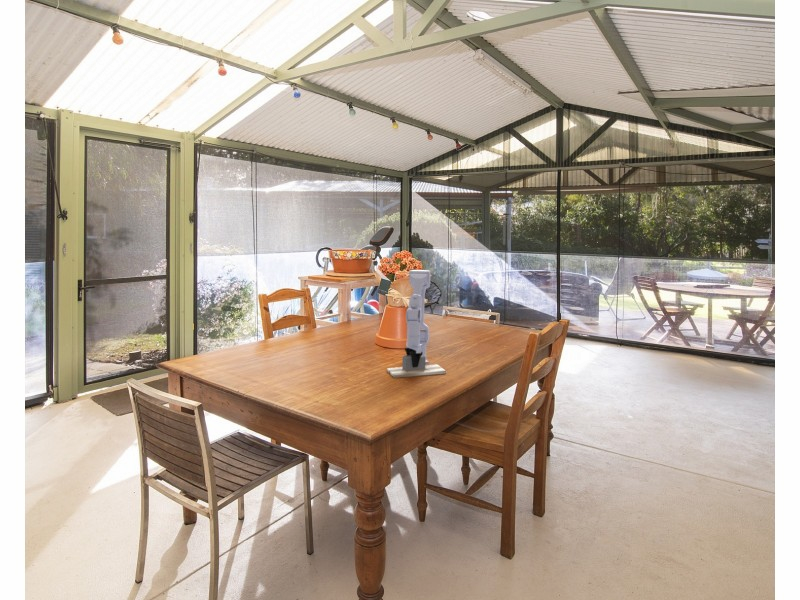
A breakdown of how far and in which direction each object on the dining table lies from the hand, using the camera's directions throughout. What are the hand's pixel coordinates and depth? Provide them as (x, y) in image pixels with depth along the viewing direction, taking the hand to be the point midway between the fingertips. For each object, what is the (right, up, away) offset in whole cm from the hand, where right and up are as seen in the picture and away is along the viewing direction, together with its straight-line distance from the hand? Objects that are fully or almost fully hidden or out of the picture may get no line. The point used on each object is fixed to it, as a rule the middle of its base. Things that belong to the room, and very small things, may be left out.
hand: (413, 365), depth 218 cm
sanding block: (0, -2, 0) cm, 2 cm away
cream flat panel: (+1, -3, +1) cm, 4 cm away
